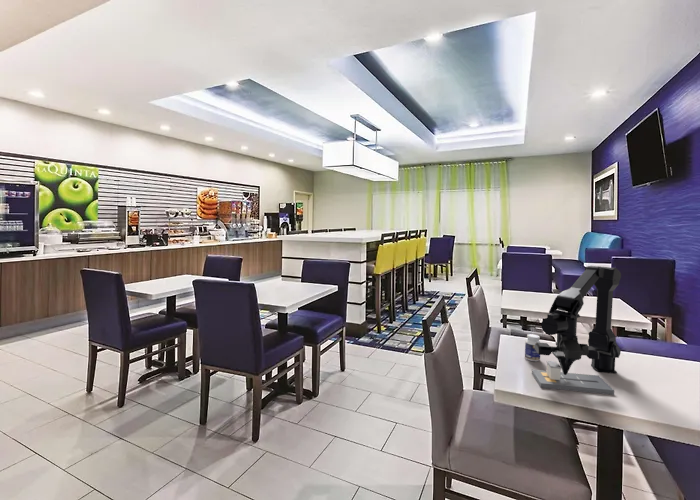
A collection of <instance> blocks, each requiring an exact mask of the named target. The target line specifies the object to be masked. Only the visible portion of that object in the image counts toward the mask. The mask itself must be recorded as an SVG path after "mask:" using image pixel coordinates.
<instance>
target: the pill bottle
mask: <svg viewBox="0 0 700 500" xmlns="http://www.w3.org/2000/svg"><path fill="white" fill-rule="evenodd" d="M526 335H527V336H526V340H525V343H524V344H525V346H524V358H525V360H528V361H532V362H539V361H540V360H541V355H540V354H538V353H537V352H536V350H535V344H536V343H537V342H539V343H541V341H540V339H541V338H540V336H539V335H538V334H532V333H531V334H530V333H527V334H526Z"/></svg>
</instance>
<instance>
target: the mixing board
mask: <svg viewBox="0 0 700 500" xmlns="http://www.w3.org/2000/svg"><path fill="white" fill-rule="evenodd" d="M546 371H547V370H543V369H531V375H532V376H533V378H534V379H535V382H536V383H537V384H538V385H539V387H540V388H541V389H542V388H544V389H555V390H565V391H574V392H585V393H593V394H604V395H612V396H614V395H615V389H614V388H612V387H611V386H610V385H609V384H608V382H606V381H605V380H604V379H603V378H602V377H601V376H600V375H595V374H585V373H576V372H575V373H574V372H568V373H567V375H564V374H563V372H562V371H561V372H560V380H553V379H550V378H549V376H548V375H547V374H546Z"/></svg>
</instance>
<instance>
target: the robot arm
mask: <svg viewBox="0 0 700 500" xmlns="http://www.w3.org/2000/svg"><path fill="white" fill-rule="evenodd" d="M582 272H583V273H582V274H581V275H580V276H579V277H578V278H577V280H575V282H574V283H573V285H571V286H570V287H569V288H567V289H564V290H563V291H561V292H560V293H558V295H557V296H556V297H555V298H554V301H553V303H552V304H551V307H550V308H549V311H548V314H547V315H546V316H547V317H545V318H544V319H543V320H542V322H541V323H540V324H541V325H540V326H541V330H542V331H543V332H544V333H545V334H546V335H548V336H553V335H556V341H555V345H556V346H551V345H549V343H548V342H540V343H539V342H537V343H536V344H535V350H536V352H537V353H538V354H540V356H541V355H542V356H550V355H551V354H552V355H553V356H554V357H555V358H556V359H557V360H558V364H559V365H560V366H561V372H563V374H564V375H567V373H569V371H570V369H571V367H572V365H573V364H574V362H575V361H580V360H581V359H582V356H586V357H587V358H588V359H589V360H591V364H590V366H591V367H592V368H593V369H594V370H596V371H597V372H601V373H612V374H618V372H617V370H616V359H617V358H618V359H619V358H620V356H621V349H620V346H619V345H618V343H617V338H616V334H615V333H614V331H613V330H612V318H613V317H612V315H613V299H614V291H615V290H616V288H617V287H618V286H619V285H620V282H621V281H620V280H621V278H622V273H621V271H620V270H619V269H618V268H617V267H610V266H609V267H608V266H596V265H588V266H587V265H586V266H585V268H584V271H582ZM593 286H595V288H596V290H597V294H596V309H595V310H596V311H595V323H594V324H595V325H594V328H593V329H592V330H591V331H589V332H588V339H587V344H586V343H579V341H578V335H577V328H578V327H577V325H578V324H577V323H578V318H581V315H580V314H579V312H580V311H581V310H582V308H583V306H584V297H586V295H588V293H589V291H590V290H591V289H592V287H593Z"/></svg>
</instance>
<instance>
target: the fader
mask: <svg viewBox="0 0 700 500" xmlns="http://www.w3.org/2000/svg"><path fill="white" fill-rule="evenodd" d="M545 371H546V374H547V375H548V376H549V378H550V379H553V380H560V372H562V369H561V366H560V363H559V362H557V361H554V360H553V361H552V360H546V370H545Z"/></svg>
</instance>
